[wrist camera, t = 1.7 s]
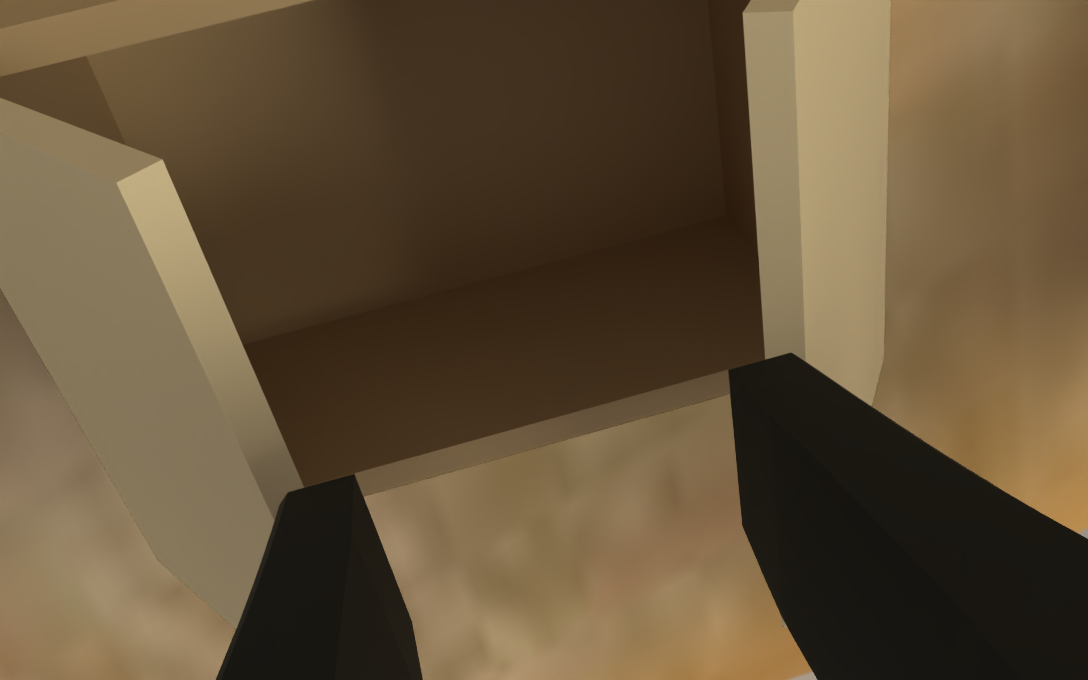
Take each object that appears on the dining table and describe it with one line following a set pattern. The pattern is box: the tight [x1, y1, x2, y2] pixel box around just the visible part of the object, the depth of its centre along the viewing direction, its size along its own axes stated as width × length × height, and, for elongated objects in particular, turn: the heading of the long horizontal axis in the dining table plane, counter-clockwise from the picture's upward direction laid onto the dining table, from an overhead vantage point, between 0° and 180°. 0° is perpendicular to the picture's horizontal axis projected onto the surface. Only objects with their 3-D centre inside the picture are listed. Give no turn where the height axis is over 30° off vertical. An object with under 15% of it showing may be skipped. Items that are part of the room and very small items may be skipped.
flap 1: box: [0, 98, 304, 629], centre depth 12 cm, size 6×8×1 cm
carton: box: [0, 0, 765, 496], centre depth 16 cm, size 11×8×5 cm
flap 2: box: [743, 0, 891, 628], centre depth 12 cm, size 6×8×1 cm
